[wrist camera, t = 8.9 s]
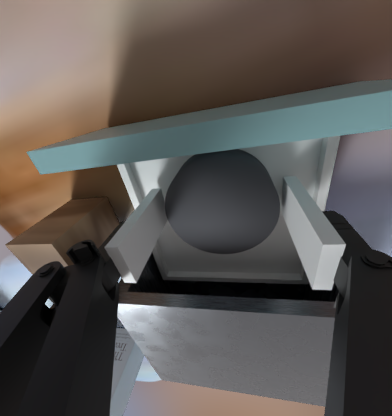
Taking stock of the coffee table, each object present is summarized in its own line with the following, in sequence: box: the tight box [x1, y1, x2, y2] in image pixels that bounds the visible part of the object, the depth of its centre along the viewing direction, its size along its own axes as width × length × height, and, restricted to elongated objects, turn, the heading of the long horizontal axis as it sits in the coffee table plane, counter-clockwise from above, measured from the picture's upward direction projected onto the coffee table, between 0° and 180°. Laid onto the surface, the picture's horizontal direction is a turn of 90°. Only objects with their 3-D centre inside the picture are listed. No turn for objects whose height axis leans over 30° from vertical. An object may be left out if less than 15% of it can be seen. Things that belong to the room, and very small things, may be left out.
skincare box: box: [110, 328, 144, 416], centre depth 32 cm, size 21×6×16 cm, turn 104°
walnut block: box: [6, 197, 120, 274], centre depth 18 cm, size 4×4×7 cm
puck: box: [165, 149, 280, 254], centre depth 13 cm, size 8×8×2 cm
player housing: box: [117, 253, 339, 406], centre depth 20 cm, size 16×18×8 cm
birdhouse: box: [27, 79, 392, 284], centre depth 14 cm, size 16×18×7 cm
